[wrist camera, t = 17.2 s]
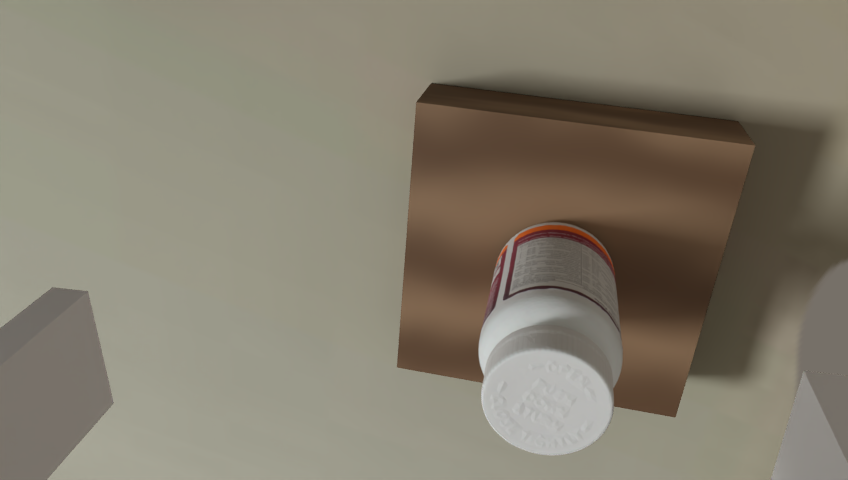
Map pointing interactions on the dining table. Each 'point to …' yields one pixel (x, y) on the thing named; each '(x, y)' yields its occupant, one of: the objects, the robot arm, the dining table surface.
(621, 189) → the walnut block
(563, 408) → the pill bottle
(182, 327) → the dining table surface
